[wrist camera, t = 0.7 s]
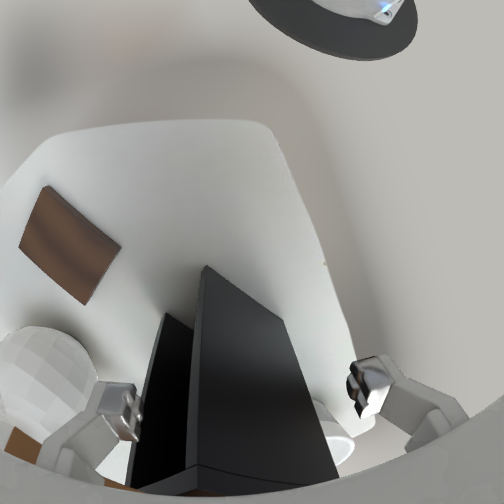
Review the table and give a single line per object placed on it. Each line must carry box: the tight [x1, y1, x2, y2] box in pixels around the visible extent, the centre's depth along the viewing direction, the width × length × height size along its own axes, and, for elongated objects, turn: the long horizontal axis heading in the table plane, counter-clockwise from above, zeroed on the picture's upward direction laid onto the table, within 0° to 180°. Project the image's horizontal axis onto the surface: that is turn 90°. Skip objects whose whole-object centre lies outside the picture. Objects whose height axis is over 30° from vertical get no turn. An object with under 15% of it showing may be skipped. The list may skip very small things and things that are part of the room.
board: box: [19, 186, 121, 306], centre depth 29 cm, size 10×13×2 cm
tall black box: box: [125, 265, 340, 497], centre depth 24 cm, size 10×13×26 cm
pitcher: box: [0, 326, 99, 451], centre depth 24 cm, size 19×18×25 cm
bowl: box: [312, 399, 355, 466], centre depth 41 cm, size 19×19×11 cm
